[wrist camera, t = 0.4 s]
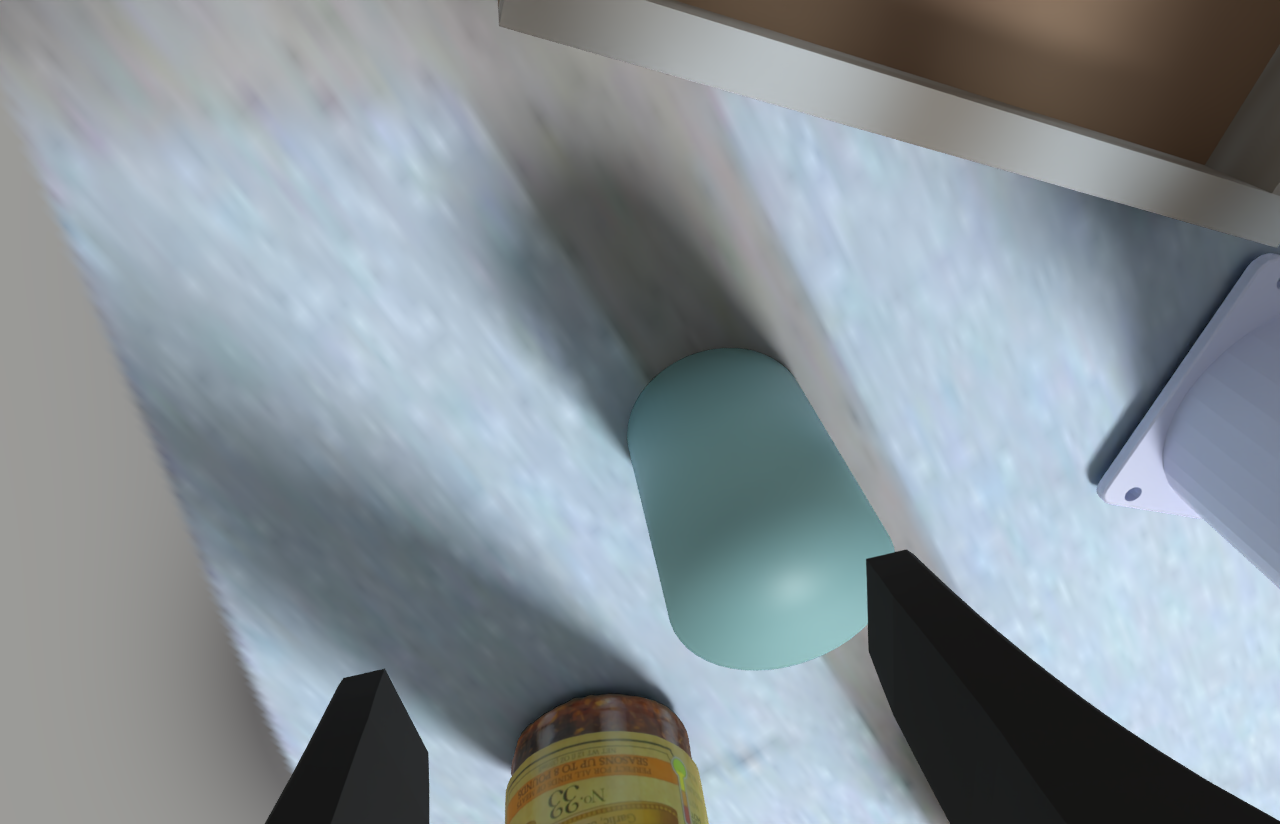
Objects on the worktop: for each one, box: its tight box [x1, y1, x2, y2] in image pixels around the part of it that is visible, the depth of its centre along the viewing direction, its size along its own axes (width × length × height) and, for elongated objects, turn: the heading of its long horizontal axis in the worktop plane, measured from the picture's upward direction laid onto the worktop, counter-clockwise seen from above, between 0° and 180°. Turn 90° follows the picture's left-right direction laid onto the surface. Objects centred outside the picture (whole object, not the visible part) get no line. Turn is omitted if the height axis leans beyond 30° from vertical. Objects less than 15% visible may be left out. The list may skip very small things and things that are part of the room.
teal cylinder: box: [627, 348, 895, 670], centre depth 20 cm, size 5×5×6 cm
